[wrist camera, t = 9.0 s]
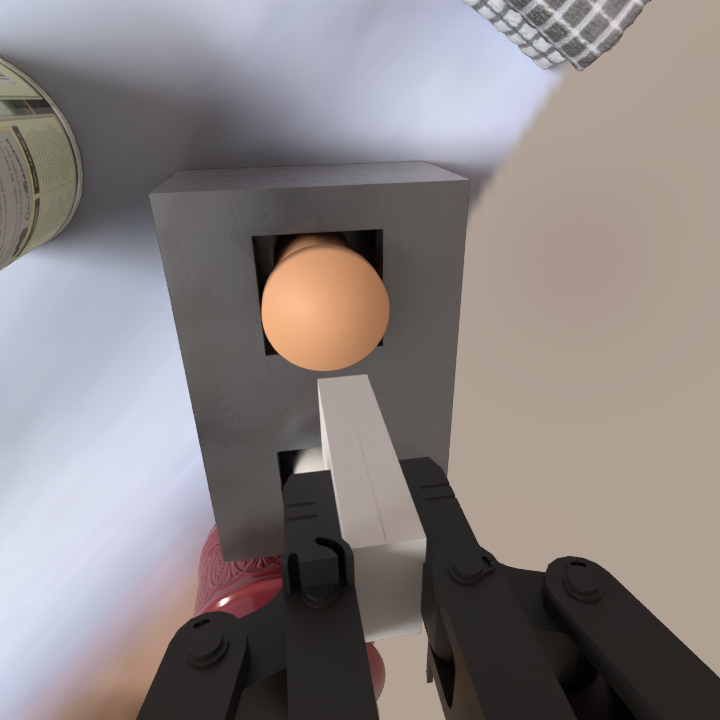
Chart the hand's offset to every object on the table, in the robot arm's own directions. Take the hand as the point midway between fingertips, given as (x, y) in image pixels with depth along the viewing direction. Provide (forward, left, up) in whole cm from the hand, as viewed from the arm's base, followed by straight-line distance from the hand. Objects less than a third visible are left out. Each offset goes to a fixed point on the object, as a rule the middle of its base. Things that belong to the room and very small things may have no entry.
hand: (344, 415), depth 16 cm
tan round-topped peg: (0, 0, -17) cm, 17 cm away
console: (-6, 0, -18) cm, 19 cm away
